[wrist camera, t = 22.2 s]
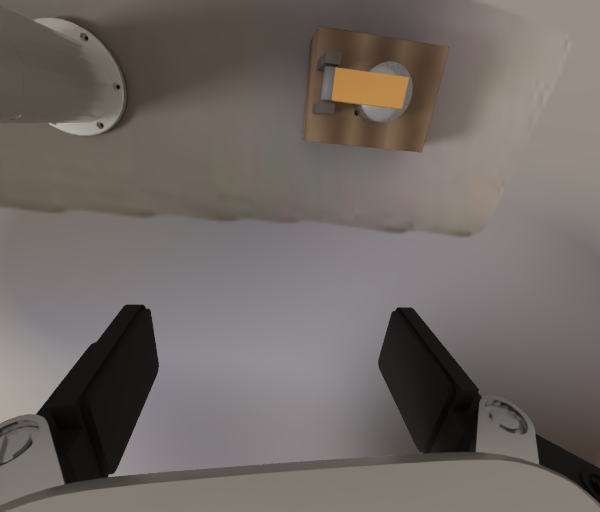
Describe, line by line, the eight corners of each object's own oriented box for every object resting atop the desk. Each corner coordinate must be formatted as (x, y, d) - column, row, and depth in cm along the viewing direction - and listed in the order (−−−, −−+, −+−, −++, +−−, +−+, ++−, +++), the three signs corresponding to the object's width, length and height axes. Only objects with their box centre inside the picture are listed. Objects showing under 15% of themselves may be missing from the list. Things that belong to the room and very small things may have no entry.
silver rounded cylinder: (338, 120, 41) (357, 119, 33) (345, 71, 38) (367, 57, 30) (377, 124, 42) (405, 124, 34) (386, 77, 39) (418, 65, 31)
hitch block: (302, 138, 42) (314, 143, 32) (311, 40, 37) (328, 10, 27) (402, 148, 44) (442, 156, 34) (423, 57, 39) (477, 35, 29)
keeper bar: (319, 99, 31) (321, 98, 30) (323, 68, 30) (325, 65, 29) (397, 109, 33) (402, 108, 31) (403, 79, 31) (409, 77, 30)
